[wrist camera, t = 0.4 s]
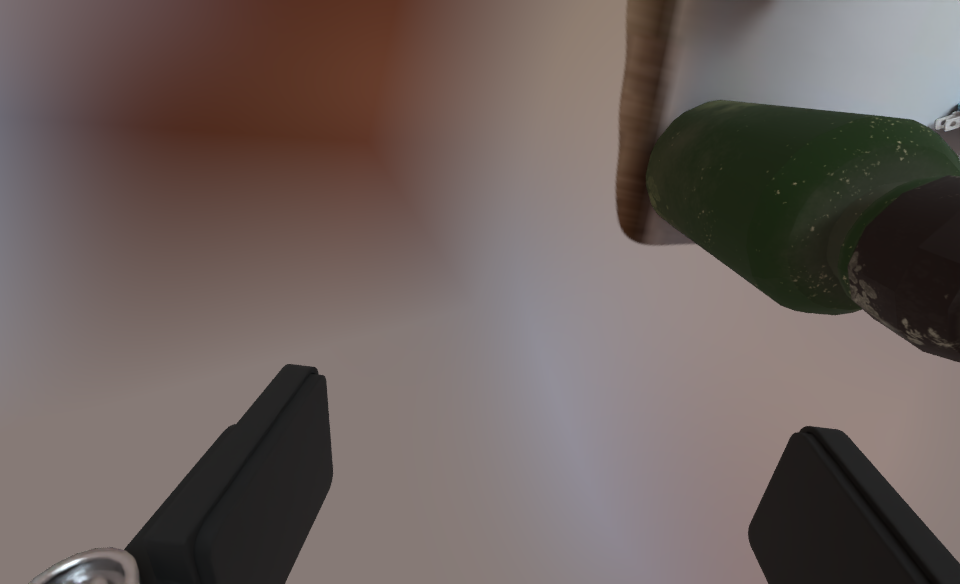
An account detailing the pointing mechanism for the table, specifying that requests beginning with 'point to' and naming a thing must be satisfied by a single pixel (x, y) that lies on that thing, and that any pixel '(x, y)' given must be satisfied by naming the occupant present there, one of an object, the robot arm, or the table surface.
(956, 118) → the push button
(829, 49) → the table surface
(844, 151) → the green bottle
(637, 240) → the table surface
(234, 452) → the robot arm
